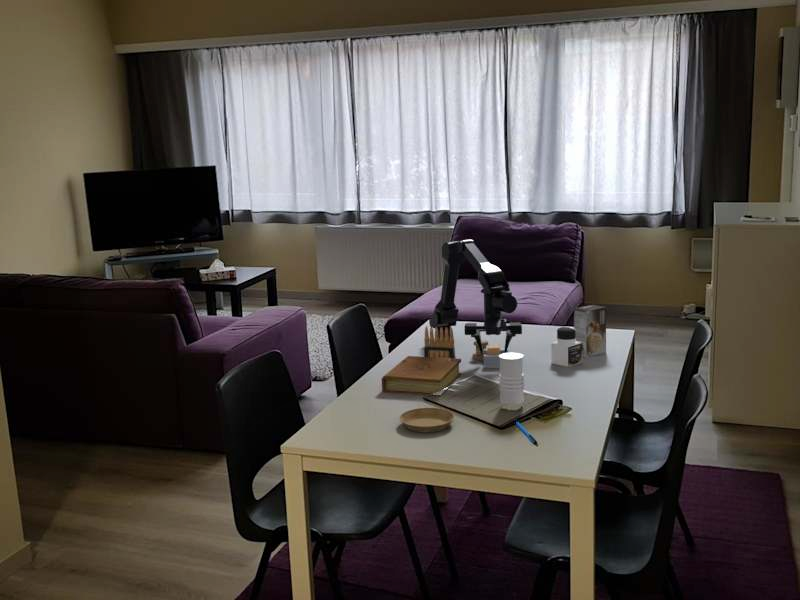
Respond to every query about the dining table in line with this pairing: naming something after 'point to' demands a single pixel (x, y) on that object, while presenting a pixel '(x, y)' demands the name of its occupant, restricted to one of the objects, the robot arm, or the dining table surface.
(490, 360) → the notched board
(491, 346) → the block
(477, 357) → the wooden knob
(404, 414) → the plant saucer
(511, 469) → the dining table surface
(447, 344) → the ammunition clip
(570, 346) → the medicine bottle
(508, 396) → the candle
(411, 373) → the diary
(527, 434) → the pen
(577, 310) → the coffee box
